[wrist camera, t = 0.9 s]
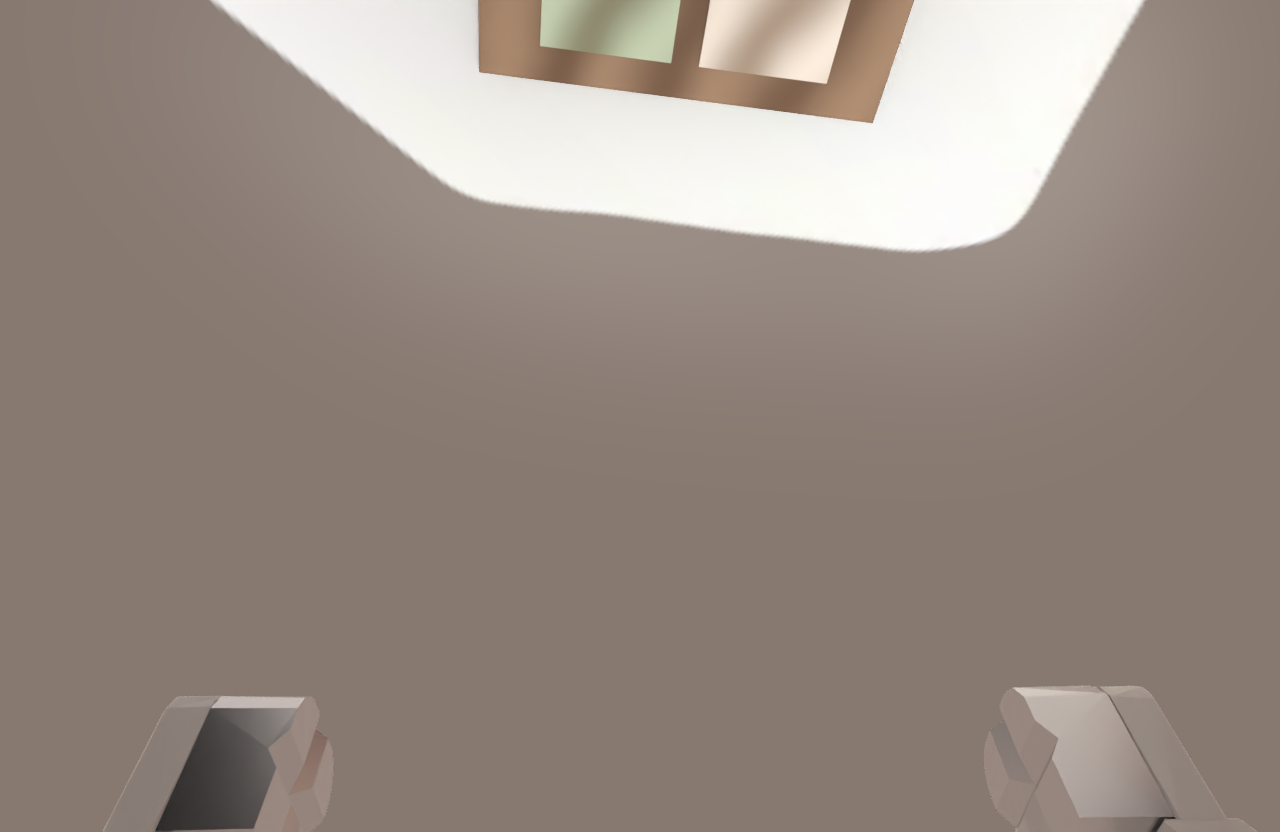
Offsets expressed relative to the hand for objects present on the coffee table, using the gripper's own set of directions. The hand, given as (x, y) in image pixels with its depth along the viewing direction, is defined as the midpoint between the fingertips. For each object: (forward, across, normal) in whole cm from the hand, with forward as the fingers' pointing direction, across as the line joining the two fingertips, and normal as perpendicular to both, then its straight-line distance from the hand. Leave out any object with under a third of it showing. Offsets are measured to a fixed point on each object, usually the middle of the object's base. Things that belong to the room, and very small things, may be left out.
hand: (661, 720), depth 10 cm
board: (+43, -3, -1) cm, 43 cm away
